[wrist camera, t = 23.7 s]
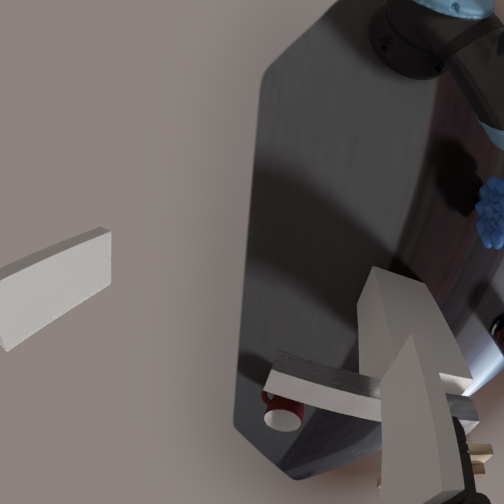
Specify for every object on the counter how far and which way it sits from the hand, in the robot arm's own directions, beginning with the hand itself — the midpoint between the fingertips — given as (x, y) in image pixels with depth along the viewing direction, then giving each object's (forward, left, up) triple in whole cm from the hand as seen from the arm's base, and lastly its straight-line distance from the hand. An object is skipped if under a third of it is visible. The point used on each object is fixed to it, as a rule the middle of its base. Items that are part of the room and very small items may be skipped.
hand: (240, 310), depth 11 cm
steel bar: (+13, +14, -13) cm, 23 cm away
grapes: (-8, +30, -39) cm, 50 cm away
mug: (+43, +7, -39) cm, 58 cm away
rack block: (+13, +18, -39) cm, 45 cm away
